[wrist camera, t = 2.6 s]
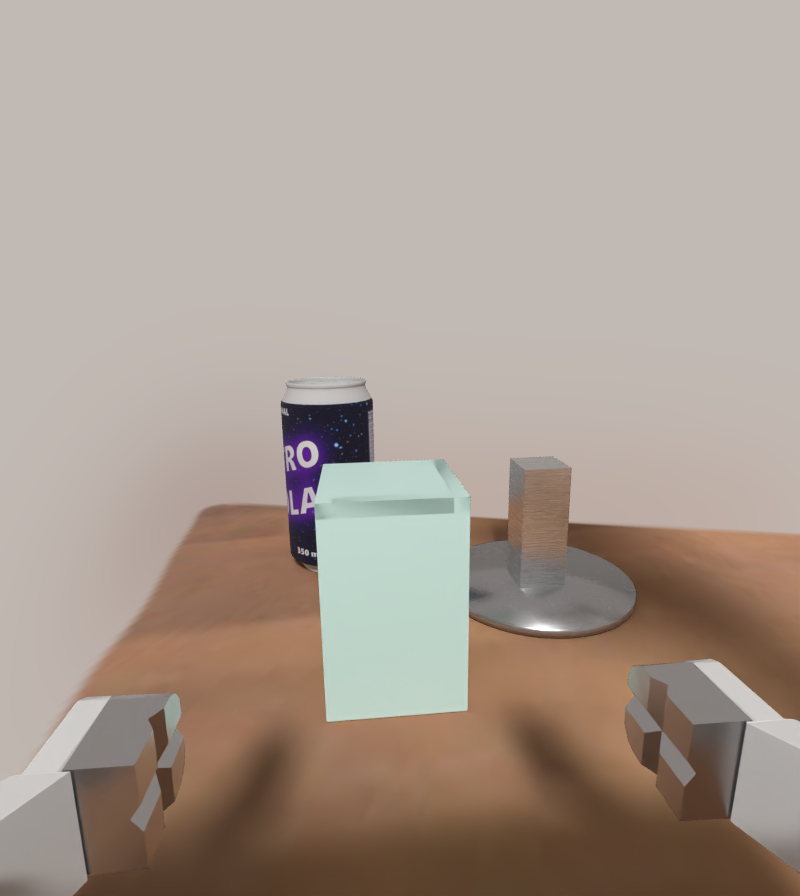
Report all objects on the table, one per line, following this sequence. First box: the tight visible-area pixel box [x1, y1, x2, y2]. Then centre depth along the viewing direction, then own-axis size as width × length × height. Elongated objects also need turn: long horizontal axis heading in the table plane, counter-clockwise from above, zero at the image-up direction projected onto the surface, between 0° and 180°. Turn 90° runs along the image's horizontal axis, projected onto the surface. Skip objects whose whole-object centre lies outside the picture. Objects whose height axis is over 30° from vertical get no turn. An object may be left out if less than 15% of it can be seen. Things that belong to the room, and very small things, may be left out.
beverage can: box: [281, 377, 374, 573], centre depth 33 cm, size 6×6×12 cm
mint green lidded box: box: [314, 459, 470, 722], centre depth 22 cm, size 6×6×9 cm
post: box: [469, 457, 636, 638], centre depth 30 cm, size 11×11×8 cm
